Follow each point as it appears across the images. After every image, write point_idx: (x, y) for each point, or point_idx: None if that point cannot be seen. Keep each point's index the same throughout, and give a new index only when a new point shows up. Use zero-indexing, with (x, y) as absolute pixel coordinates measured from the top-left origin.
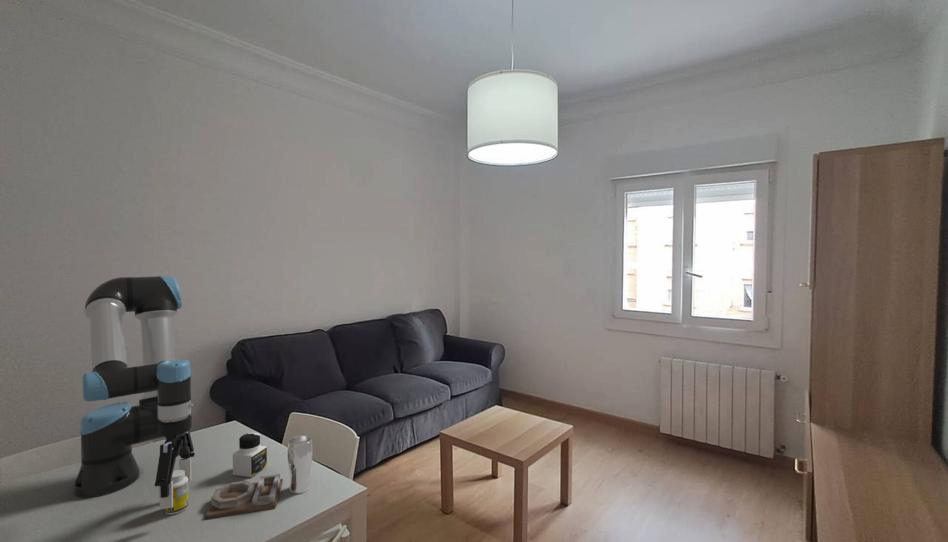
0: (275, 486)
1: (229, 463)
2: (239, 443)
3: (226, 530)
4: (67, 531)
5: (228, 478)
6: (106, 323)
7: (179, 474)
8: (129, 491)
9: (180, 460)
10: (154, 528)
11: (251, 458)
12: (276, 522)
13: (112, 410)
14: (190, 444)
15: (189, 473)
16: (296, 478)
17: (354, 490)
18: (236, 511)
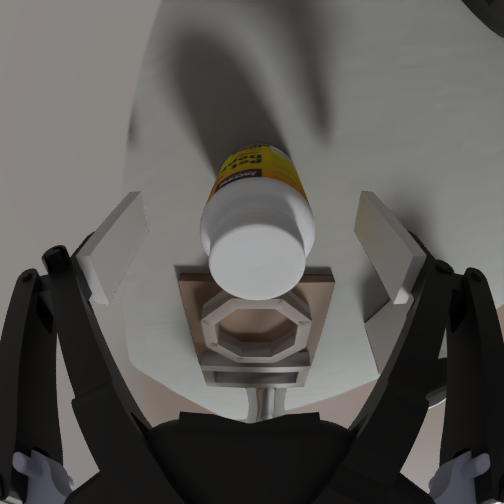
0: (248, 386)
1: (471, 259)
2: (435, 372)
3: (135, 315)
4: None
5: None
6: None
7: (236, 287)
8: (440, 7)
9: (410, 260)
10: (153, 151)
11: (378, 368)
12: (159, 367)
13: None
14: (447, 365)
15: (365, 248)
16: (248, 412)
17: (234, 418)
18: (190, 330)
